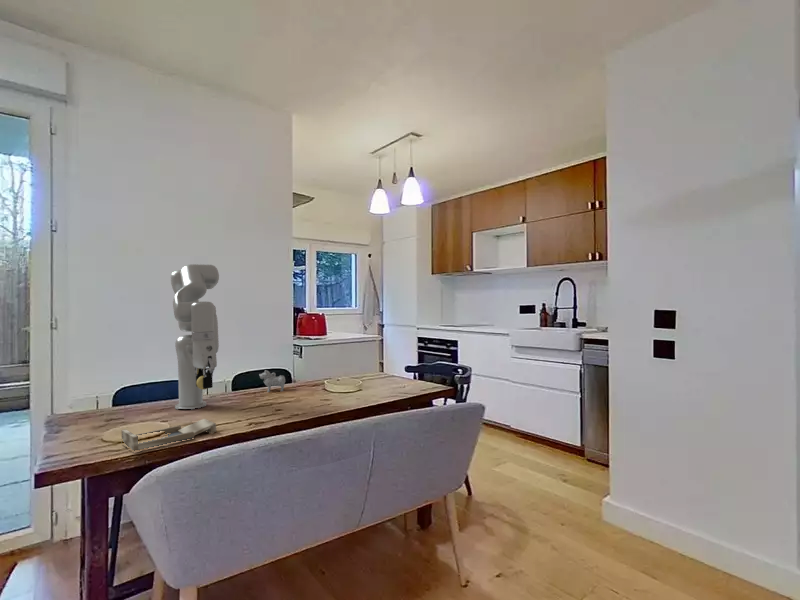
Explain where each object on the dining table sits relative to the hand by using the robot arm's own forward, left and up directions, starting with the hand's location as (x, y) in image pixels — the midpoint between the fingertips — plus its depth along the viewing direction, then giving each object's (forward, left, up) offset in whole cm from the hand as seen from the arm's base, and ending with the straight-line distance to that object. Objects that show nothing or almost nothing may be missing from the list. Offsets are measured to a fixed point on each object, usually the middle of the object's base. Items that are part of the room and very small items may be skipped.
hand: (204, 386), depth 167 cm
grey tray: (0, -15, -16) cm, 22 cm away
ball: (0, 0, +1) cm, 1 cm away
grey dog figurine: (-42, +54, -17) cm, 70 cm away
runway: (0, -15, -16) cm, 22 cm away
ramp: (0, -3, -16) cm, 16 cm away
